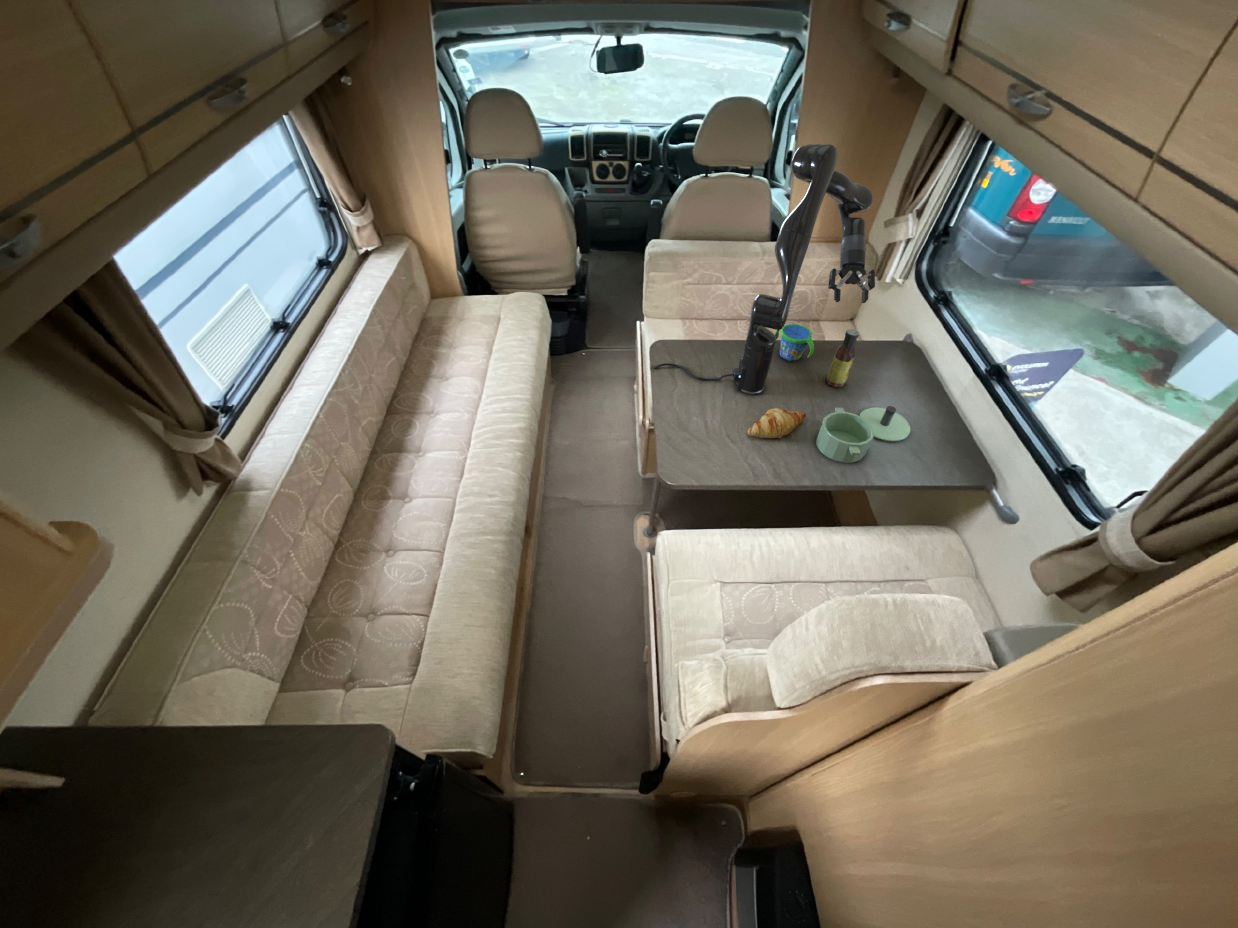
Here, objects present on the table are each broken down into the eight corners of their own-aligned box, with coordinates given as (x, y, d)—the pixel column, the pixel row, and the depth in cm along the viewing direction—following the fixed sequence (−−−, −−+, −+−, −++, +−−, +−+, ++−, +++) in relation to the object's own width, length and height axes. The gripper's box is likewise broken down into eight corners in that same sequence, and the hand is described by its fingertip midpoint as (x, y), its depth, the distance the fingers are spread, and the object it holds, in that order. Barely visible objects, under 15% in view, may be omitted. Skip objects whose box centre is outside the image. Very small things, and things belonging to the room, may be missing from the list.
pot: (824, 468, 163) (831, 450, 158) (809, 423, 177) (816, 405, 172) (873, 470, 163) (883, 452, 158) (855, 424, 177) (863, 406, 172)
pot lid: (865, 441, 172) (873, 424, 167) (852, 409, 183) (859, 392, 178) (916, 443, 172) (925, 426, 167) (899, 410, 183) (908, 393, 178)
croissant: (750, 451, 173) (761, 442, 165) (736, 422, 175) (747, 412, 167) (805, 431, 179) (818, 422, 171) (791, 404, 181) (804, 393, 174)
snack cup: (816, 361, 201) (824, 337, 194) (796, 371, 197) (803, 347, 189) (784, 341, 210) (790, 317, 203) (764, 350, 205) (770, 326, 198)
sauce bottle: (846, 388, 190) (866, 338, 176) (828, 388, 190) (846, 338, 176) (841, 377, 195) (860, 327, 181) (823, 376, 195) (841, 327, 181)
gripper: (869, 257, 185) (867, 306, 185) (826, 255, 185) (824, 304, 185) (880, 248, 177) (877, 299, 178) (835, 247, 178) (833, 298, 178)
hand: (850, 302), depth 181 cm, fingers open, 8 cm apart
